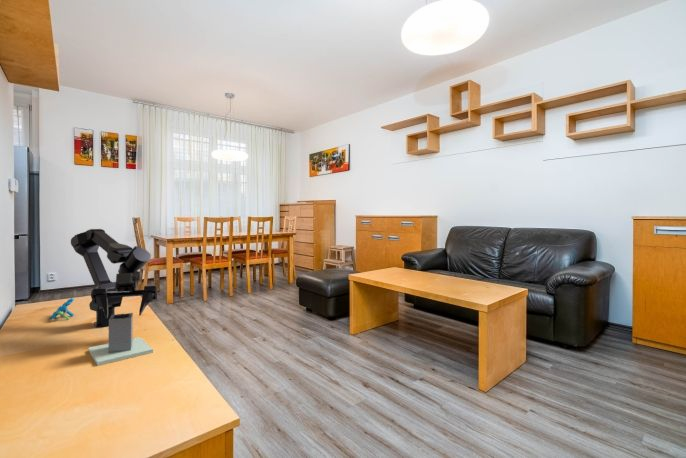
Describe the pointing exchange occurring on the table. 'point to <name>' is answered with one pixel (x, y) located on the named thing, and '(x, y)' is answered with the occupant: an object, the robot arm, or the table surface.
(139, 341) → the pin board
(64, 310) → the blue toy figurine
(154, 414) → the table surface
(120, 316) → the square open box
